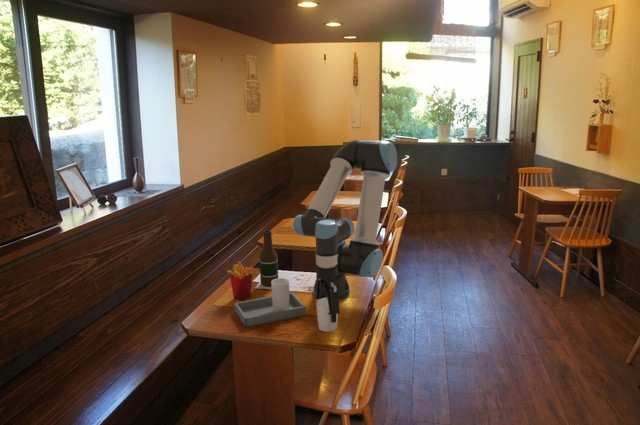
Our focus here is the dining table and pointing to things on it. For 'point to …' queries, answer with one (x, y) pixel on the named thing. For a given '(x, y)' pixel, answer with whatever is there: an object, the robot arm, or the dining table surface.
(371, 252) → the robot arm
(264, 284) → the beer bottle
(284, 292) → the mug
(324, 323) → the white cup
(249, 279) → the french fries
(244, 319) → the tray
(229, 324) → the dining table surface
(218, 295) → the dining table surface
